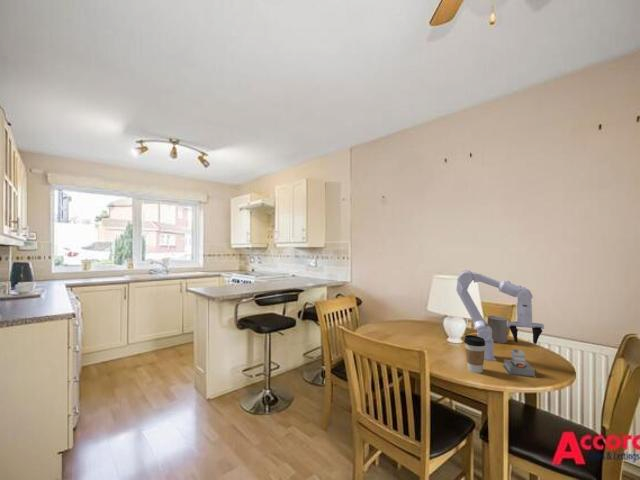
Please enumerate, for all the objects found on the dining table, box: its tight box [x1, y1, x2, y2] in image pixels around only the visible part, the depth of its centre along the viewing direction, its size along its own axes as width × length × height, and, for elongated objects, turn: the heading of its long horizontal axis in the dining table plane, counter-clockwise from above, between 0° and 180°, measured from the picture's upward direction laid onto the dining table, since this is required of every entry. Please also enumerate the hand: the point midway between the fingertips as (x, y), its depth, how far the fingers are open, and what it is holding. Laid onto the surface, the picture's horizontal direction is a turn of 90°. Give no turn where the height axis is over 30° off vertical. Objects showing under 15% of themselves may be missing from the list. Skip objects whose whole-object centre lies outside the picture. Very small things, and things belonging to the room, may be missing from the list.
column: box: [510, 348, 526, 367], centre depth 127 cm, size 4×4×7 cm
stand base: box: [502, 358, 538, 378], centre depth 127 cm, size 10×10×4 cm
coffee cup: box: [463, 334, 485, 374], centre depth 129 cm, size 8×8×15 cm
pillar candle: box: [487, 315, 508, 344], centre depth 168 cm, size 10×10×15 cm
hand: (525, 342), depth 135 cm, fingers open, 7 cm apart
